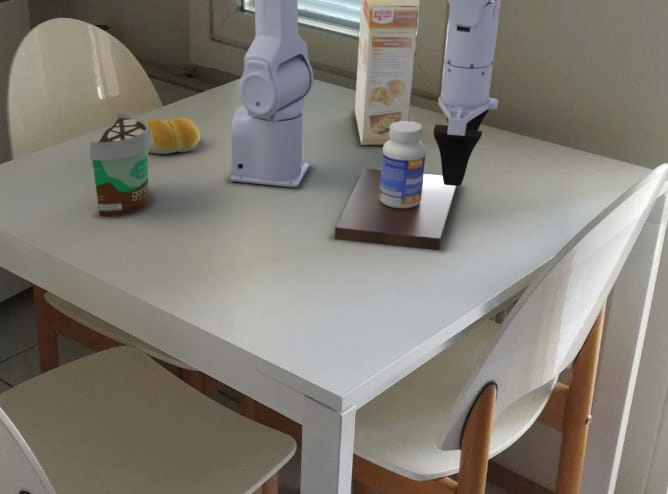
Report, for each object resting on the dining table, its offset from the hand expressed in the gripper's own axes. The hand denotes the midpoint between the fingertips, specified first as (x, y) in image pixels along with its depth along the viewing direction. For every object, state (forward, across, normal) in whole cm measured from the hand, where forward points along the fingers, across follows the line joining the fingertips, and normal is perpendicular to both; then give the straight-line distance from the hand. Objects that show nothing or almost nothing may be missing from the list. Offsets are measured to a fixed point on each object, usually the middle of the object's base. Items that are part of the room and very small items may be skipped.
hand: (456, 172), depth 138 cm
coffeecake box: (+6, +30, +14) cm, 34 cm away
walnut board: (+6, 0, +7) cm, 9 cm away
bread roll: (+6, +15, +43) cm, 46 cm away
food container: (+6, -6, +41) cm, 42 cm away
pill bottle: (+5, 0, +7) cm, 8 cm away
